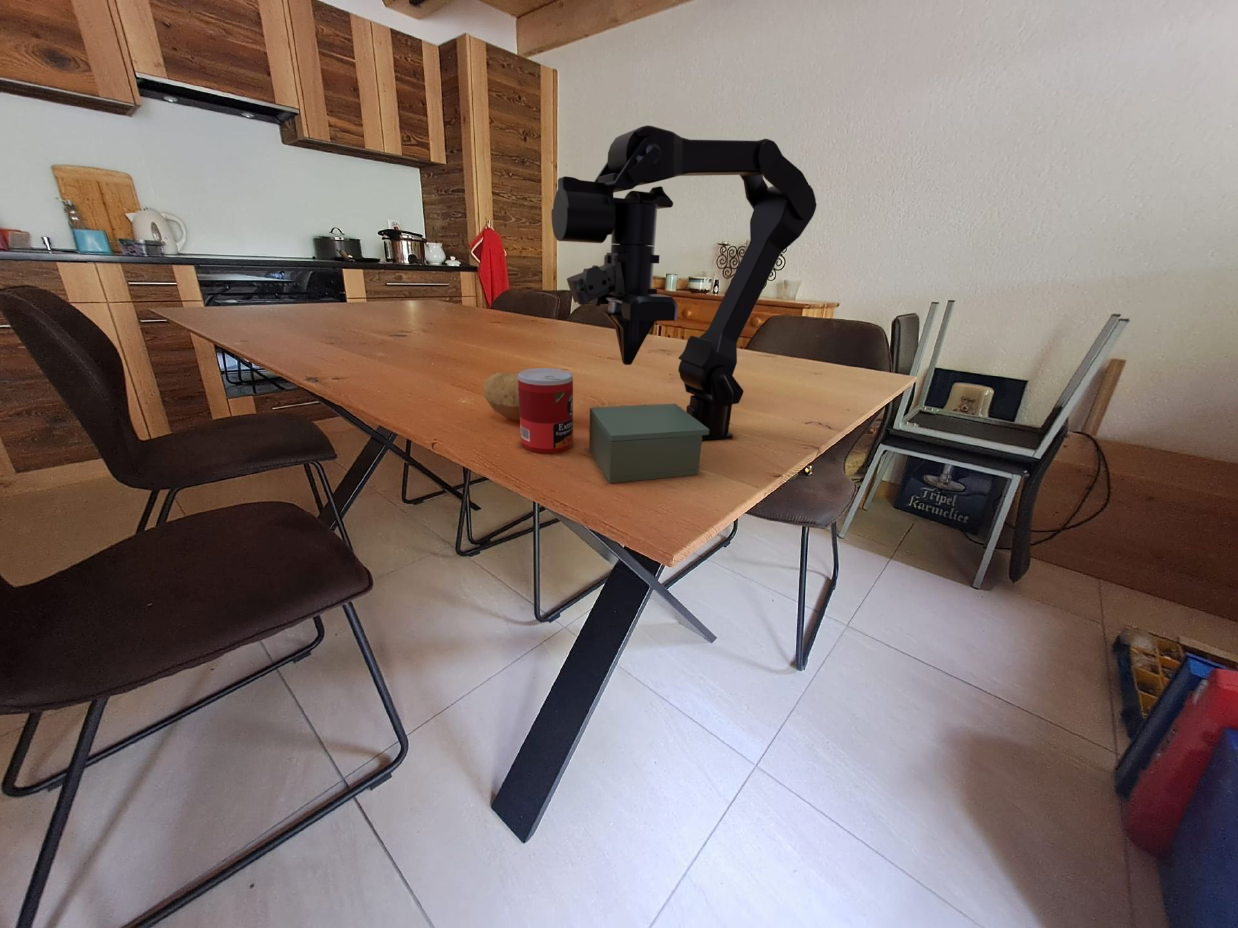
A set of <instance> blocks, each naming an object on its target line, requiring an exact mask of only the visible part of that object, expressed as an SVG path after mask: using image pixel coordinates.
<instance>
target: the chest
mask: <svg viewBox="0 0 1238 928" xmlns="http://www.w3.org/2000/svg"><path fill="white" fill-rule="evenodd" d="M588 433H589V434H588V435H589V437H588V439H589V440H588V441H589V443H588V444H589V445H588V450H589V452H590V454H591V456H592V457H593V459H594V460H595V462H596V464H597V465H598V466H599V467H598V468H600V471H602V474H603V475H604V477H605V478H606V480H607V482H608V484H617V483H626V482H627V483H628V482H636V481H637V482H639V481H645V480H646V481H649V480H656V479H657V480H659V479H668V478H678V477H679V478H680V477H691V476H698V475H699V468H700V459H701V451H702V441H703V440H702V435H699V436H684V437H669V438H655V439H640V440H626V441H610V439H609V438H608V437H607V435H606V434H605V432H604V431H603V430H602V428H601V427H600V426H599V424H598V423H597V422H596V420H595V419H594V418H593V416H592V415H591V414H590V413H589V432H588Z"/></svg>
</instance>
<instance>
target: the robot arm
mask: <svg viewBox="0 0 1238 928" xmlns="http://www.w3.org/2000/svg"><path fill="white" fill-rule="evenodd" d="M694 176H695V177H696V176H700V177H701V176H703V177H704V176H739V177H740V178H741V180H742V182H743V186H744V187H743V188H744V193H745V198H746V201H747V202H748V203H749V205H750V206H751V208H752V210H753V211H752V214H751V217H750V220H749V238H750V239H749V243H748V245H747V247H746V249H745V251H744V254H743V256H742V257H741V259H740V262H739V264H738V266H737V268H736V270H735V272H734V274H733V276H732V279H731V280H730V283H729V284H728V287H727V288H726V291H725V293H724V295H723V296H722V297H723V298H722V299H721V302H720V303H719V305H718V308H717V310H716V311H715V313H714V316H713V318H712V320H711V322H710V325H709V326H708V328H707V330H705V332H704V333H703V334H701V335H700V336H695V335H689V338H688V339H687V341H686V345H685V348H684V349H683V351H682V353H681V354H680V355H679V356H678V360H680V361H679V364H678V369H677V370H678V373H679V377H680V380H681V381H682V383H683V385H684V389H685V392H686V393H687V394H691V395H690V397H689V398H690V399H689V404H687V405H686V410H685V411H686V412H687V413H688V414H690V415H691V416H692V417H694V418H695V419H696V420H698V421H699V422H700V423H702V424H703V425H704V426H706V427H707V428H708V429H709V435H702V441H708V440H719V439H721V440H722V439H731V438H734V434H733V433H732V432H730V424H731V416H732V409H733V405H738V404H740V402H741V400H742V397H743V395H744V393H745V392H744V389H743V388H742V386H741V385H740V384H739V382H738V381H737V379H736V378H735V377H734V376H733V375H734V372H735V370H736V367H737V364H738V349H737V348H738V341H739V339H740V337H741V335H742V333H743V331H744V328H745V326H746V325H747V323H748V321H749V319H750V316H751V314H752V312H753V310H754V309H755V306H756V304H757V303H758V301H759V299H760V296H761V294H762V292H763V290H764V288H765V286H766V284H767V282H768V280H769V278H770V277H771V274H772V273H773V270H774V269H775V266H776V264H777V262H778V260H779V258H780V256H781V254H782V253H783V252H784V251H785V250H786V249H787V248H789V247H790V246H792V245H793V243H795V242H796V241H797V240H798V239H799V238H800V237H801V236H802V234H803V233H804V231H805V230H806V229H807V226H808V225H809V224H810V222H811V221H812V219H813V218H814V215H815V212H816V210H817V206H818V205H817V199H816V195H815V191H814V189H813V188H812V187H813V186H811V184H809V182H808V180H807V178H806V176H805V175H804V173H803V172H802V170H800V169H799V168H798V167H797V166H796V165H795V164H794V163H792V162H791V161H790V160H789V159H787V158H786V157H785V156H784V155H783V153H782V151H781V149H780V148H779V146H778V144H777V143H776V141H774V140H772V139H769V138H763V139H759V140H737V139H735V140H734V139H732V140H729V139H690V138H685V137H683V136H680V135H679V134H677V133H676V132H674V131H672V130H668V129H664V128H660V127H657V126H653V125H643V126H640V127H638V128H635V129H632V130H631V131H628V132H625V133H623V134H620V135H618V136H617V137H615V138H614V140H613V141H612V143H611V144H610V146H609V149H608V151H607V161H606V163H605V164H604V166H603V167H602V169H601V170H600V172H599V173H598V174H597V177H596V178H595V179H594V180H593V181H592V180H585V179H584V180H583V179H578V178H577V177H573V176H566V175H565V176H562V177H559V178H558V179H557V190H556V193H555V195H554V200H553V205H552V209H551V212H550V213H551V214H550V215H551V216H550V217H551V226H552V228H551V229H552V232H553V235H554V237H555V239H556V240H557V241H558V242H568V243H570V242H571V243H588V244H603V243H604V242H605V241H606V239H607V238H608V236H610V237H611V242H610V244H611V245H610V252H606V254H604V258H603V264H602V265H600V266H598V265H595V264H593V265H592V266H591V267H588V268H585V267H584V268H583V270H582V272H580V273H577V274H575V275H574V274H573V275H572V276H569V277H567V278H566V282H567V285H568V287H569V290H570V294H571V296H572V299H573V302H574V303H575V304H576V303H577V304H578V305H580V306H582V305H586V304H589V303H591V305H593V306H595V307H600V306H601V305H607V310H602V314H603V315H604V316H605V317H607V319H608V320H609V321H610V322H611V323H612V324H613V326H614V331H615V334H616V338H617V343H618V348H619V353H620V358H621V363H622V365H625V366H631V365H632V364H633V362H634V360H635V358H636V356H637V355H638V354H639V351H640V349H641V347H642V345H643V343H644V341H645V340H646V338H647V336H648V334H649V333H650V331H651V329H652V328H653V326H654V324H655V323H657V322H675V321H677V318H678V308H679V304H678V303H677V301H675V299H674V297H672V296H670V295H666V294H661V293H658V288H655V287H653V280H654V279H653V277H654V264H660V254H655V251H656V250H655V249H656V248H655V245H656V234H657V218H658V210H659V209H660V210H661V209H669V208H671V209H672V208H673V206H674V201H673V200H672V199H671V198H670V196H669V195H667V194H666V192H665V189H664V187H663V186H661V185H659V186H653V187H652V188H651V189H650V190H649V191H641V190H633V189H635V188H636V187H638V186H644V185H648V184H653V183H657V182H661V181H665V180H670V179H673V178H676V177H694ZM766 181H767V182H768V183H770V185H771V186H768V184H767V183H766ZM629 190H630V191H629ZM624 191H628V192H627V194H626V195H625V196H624V198H623V197H615V196H614V193H619V192H624Z"/></svg>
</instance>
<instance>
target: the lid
mask: <svg viewBox="0 0 1238 928" xmlns="http://www.w3.org/2000/svg"><path fill="white" fill-rule="evenodd" d="M590 414H591V415H592V416H593V418H594V419H595V420H596V422H597V423H598V424H599V426H600V427H601V428H602V430H603V431H604V432H605V434H606V435H607V437H608V438H609V439H610V441H626V440H640V439H655V438H669V437H684V436H699V435H709V429H708V428H707V427H706V426H704V425H703V424H702V423H700V422H699V421H698V420H696V419H695V418H694V417H692V416H691V415H690V414H688V413H687V412H686V410H685V409H683V408H682V407H681V406H679V405H678V404H677V403H660V404H637V405H636V404H635V405H618V406H617V405H616V406H598V407H597V406H595V407H589V415H590Z"/></svg>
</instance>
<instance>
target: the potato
mask: <svg viewBox="0 0 1238 928" xmlns="http://www.w3.org/2000/svg"><path fill="white" fill-rule="evenodd" d="M482 390H483V394H484V398H485V400H486V402H487V403H488V404H489V406H490V407H491V408H492V410H493V411H494V412H496V413H498V414H499V415H501V416H503V417H505V418H507V419H508V420H510V421H511V420H512V421H513V422H518V423H520V411H519V393H518V373H512V372H497V373H494V374H491V375H489V376H488V378H487V379H486V380H485V382H484V384H483V388H482Z"/></svg>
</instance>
